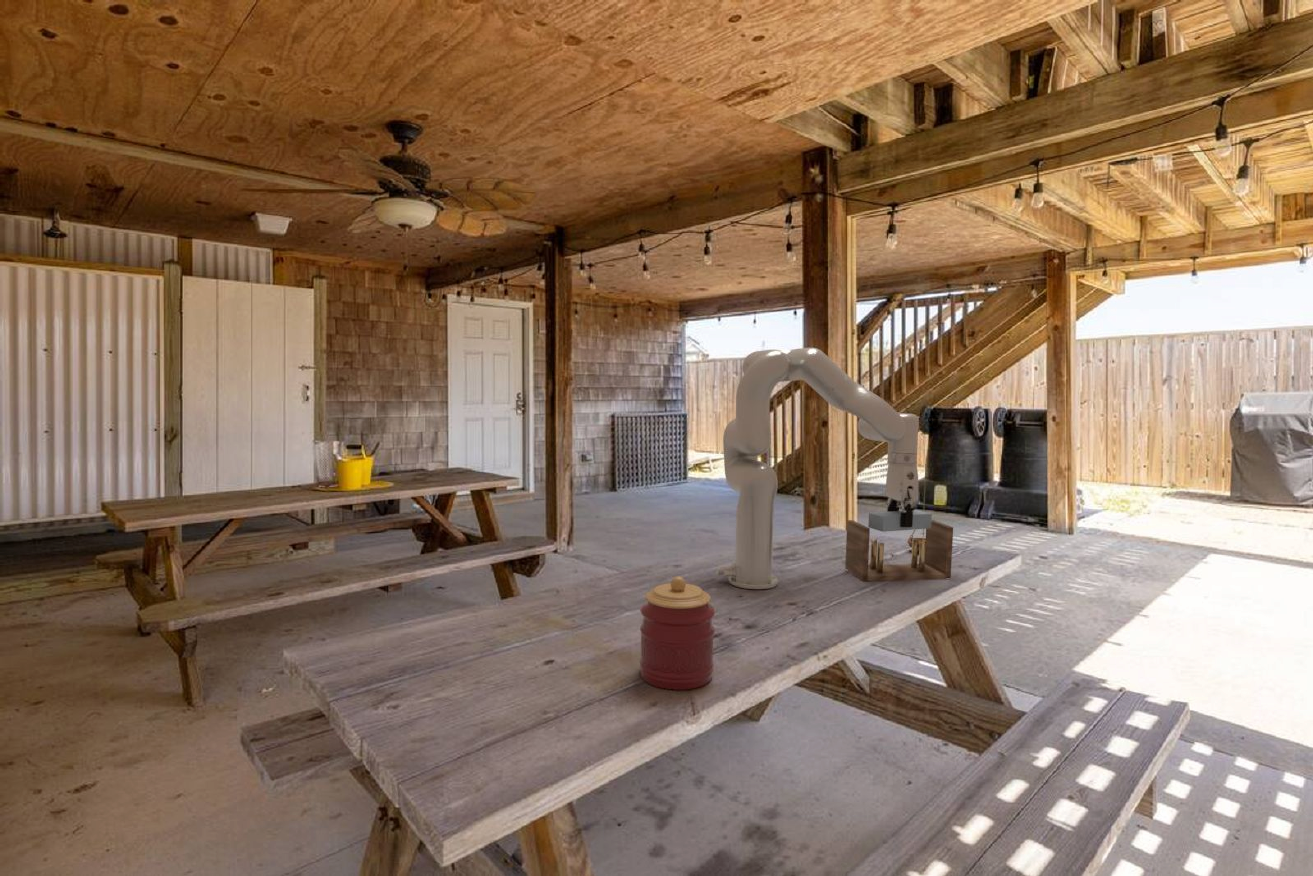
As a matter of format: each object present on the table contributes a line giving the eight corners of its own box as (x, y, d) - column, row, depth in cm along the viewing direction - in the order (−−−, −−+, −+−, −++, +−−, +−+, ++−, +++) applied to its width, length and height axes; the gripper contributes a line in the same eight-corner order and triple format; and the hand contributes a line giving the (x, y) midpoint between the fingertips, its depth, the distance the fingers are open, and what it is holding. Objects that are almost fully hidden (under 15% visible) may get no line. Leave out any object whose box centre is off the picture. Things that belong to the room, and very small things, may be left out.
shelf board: (915, 524, 194) (916, 509, 193) (930, 528, 188) (931, 513, 188) (868, 527, 188) (868, 512, 188) (882, 531, 182) (883, 516, 182)
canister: (676, 699, 112) (678, 592, 111) (624, 674, 121) (625, 575, 120) (728, 676, 121) (731, 578, 120) (676, 655, 130) (678, 563, 129)
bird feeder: (907, 554, 212) (912, 457, 209) (906, 548, 220) (910, 454, 218) (938, 557, 209) (943, 458, 207) (936, 550, 217) (940, 455, 215)
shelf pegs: (878, 573, 185) (879, 543, 185) (869, 567, 191) (870, 539, 190) (925, 572, 187) (927, 543, 186) (915, 566, 193) (916, 538, 192)
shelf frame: (862, 580, 182) (864, 528, 181) (845, 569, 193) (847, 520, 192) (950, 578, 185) (953, 527, 184) (929, 567, 196) (931, 519, 195)
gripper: (932, 462, 178) (929, 530, 180) (899, 455, 196) (897, 517, 197) (904, 462, 177) (901, 531, 179) (874, 455, 195) (872, 518, 196)
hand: (899, 523), depth 188 cm, fingers closed on shelf board, 6 cm apart
